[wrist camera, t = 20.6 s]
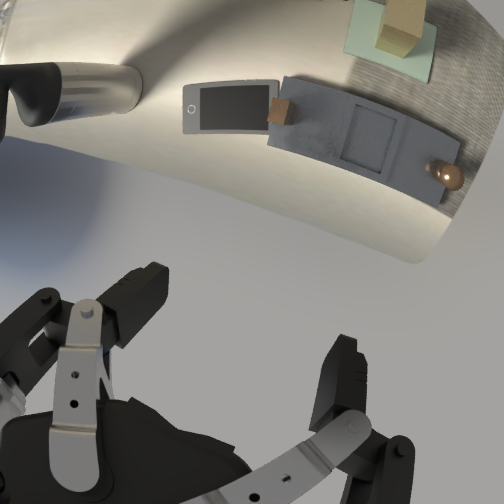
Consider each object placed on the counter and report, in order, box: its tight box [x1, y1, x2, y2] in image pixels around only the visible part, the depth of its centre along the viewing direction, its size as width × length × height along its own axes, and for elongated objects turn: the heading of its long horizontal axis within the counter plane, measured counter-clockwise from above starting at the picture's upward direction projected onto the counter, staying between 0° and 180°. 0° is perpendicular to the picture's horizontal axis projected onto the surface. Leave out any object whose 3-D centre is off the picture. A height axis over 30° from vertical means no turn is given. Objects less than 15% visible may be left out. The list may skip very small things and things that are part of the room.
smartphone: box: [183, 79, 278, 135], centre depth 37 cm, size 15×8×1 cm, turn 89°
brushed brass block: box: [375, 0, 427, 59], centre depth 20 cm, size 4×6×10 cm, turn 167°
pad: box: [343, 0, 437, 84], centre depth 24 cm, size 12×10×1 cm
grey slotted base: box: [267, 76, 464, 208], centre depth 30 cm, size 25×10×7 cm, turn 77°
